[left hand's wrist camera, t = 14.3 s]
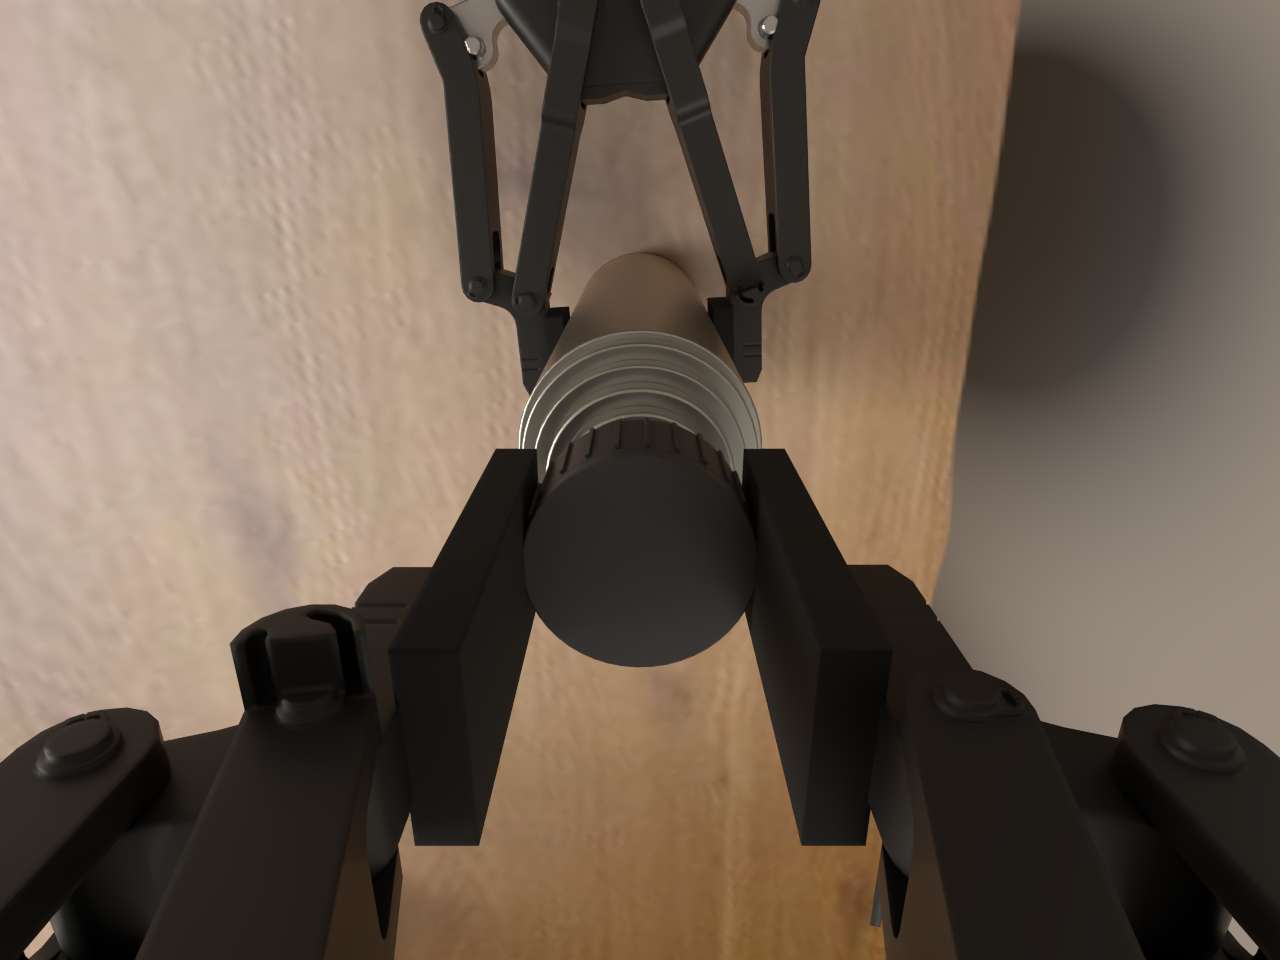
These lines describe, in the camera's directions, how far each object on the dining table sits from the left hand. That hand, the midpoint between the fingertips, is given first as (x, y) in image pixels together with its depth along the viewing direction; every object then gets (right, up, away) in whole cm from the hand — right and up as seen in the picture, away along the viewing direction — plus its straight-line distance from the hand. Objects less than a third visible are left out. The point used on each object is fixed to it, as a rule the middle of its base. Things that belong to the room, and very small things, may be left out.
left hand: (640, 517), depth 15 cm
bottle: (0, +9, +22) cm, 24 cm away
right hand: (0, +2, +18) cm, 18 cm away
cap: (0, -1, -2) cm, 2 cm away
